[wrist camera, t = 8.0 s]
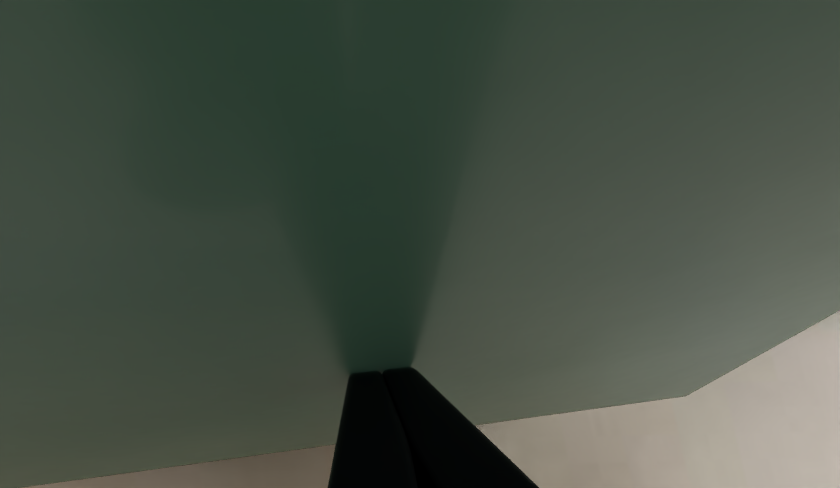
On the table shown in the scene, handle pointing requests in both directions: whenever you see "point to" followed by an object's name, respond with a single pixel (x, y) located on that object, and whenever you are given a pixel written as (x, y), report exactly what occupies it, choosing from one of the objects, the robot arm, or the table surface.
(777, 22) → the bin lid
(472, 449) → the robot arm
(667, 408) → the table surface
